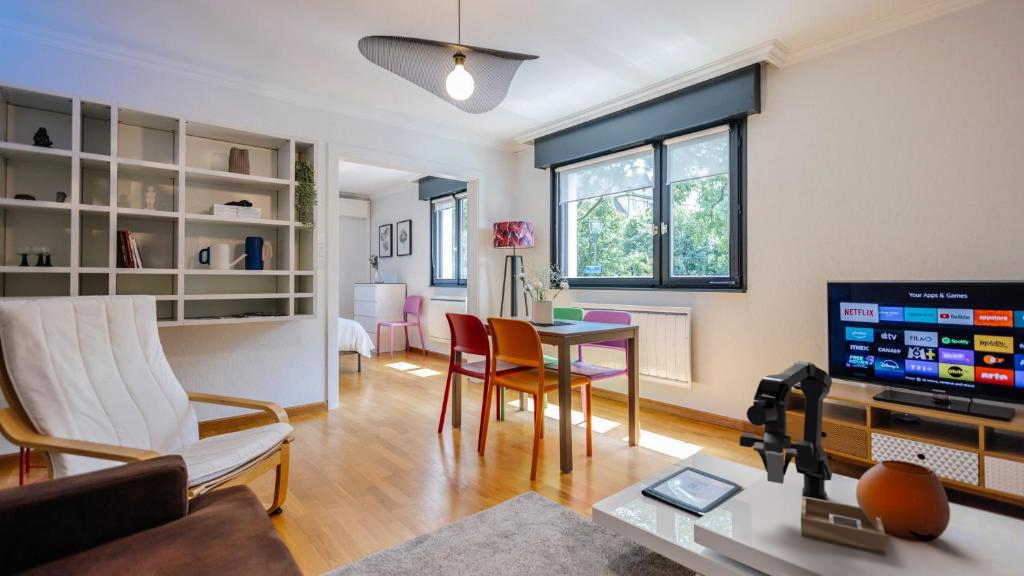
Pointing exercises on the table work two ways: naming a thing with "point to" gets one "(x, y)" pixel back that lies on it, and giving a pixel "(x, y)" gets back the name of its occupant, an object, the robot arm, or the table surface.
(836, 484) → the table surface
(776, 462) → the grey rectangular block
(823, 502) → the walled box
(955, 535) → the table surface
